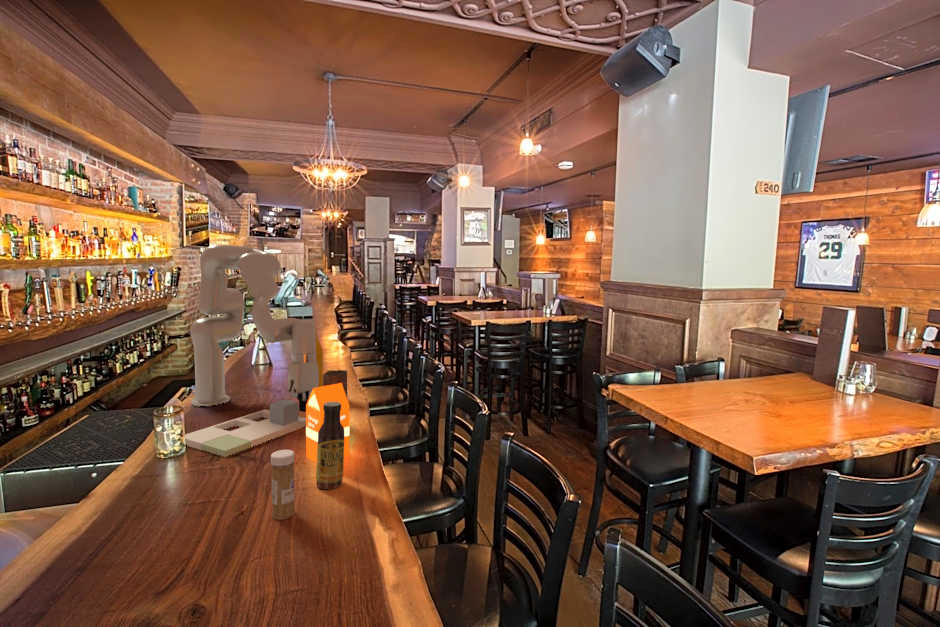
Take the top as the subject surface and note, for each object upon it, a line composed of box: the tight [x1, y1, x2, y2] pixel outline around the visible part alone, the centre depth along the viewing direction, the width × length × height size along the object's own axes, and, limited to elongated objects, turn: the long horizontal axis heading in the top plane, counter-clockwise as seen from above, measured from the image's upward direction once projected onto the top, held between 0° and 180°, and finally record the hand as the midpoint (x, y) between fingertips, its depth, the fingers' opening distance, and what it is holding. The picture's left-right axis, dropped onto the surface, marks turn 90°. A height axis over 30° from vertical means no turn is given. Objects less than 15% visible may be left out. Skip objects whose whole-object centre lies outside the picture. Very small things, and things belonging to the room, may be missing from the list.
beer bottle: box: [315, 323, 324, 387], centre depth 181 cm, size 9×9×29 cm
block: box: [269, 398, 299, 426], centre depth 148 cm, size 6×6×6 cm
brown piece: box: [323, 369, 348, 398], centre depth 143 cm, size 8×7×20 cm
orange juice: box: [305, 383, 351, 464], centre depth 126 cm, size 8×9×20 cm
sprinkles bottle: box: [270, 449, 296, 521], centre depth 96 cm, size 5×5×13 cm
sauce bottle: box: [315, 402, 345, 490], centre depth 110 cm, size 6×6×20 cm
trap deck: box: [184, 408, 306, 458], centre depth 142 cm, size 20×30×2 cm, turn 154°
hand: (304, 410), depth 156 cm, fingers closed
